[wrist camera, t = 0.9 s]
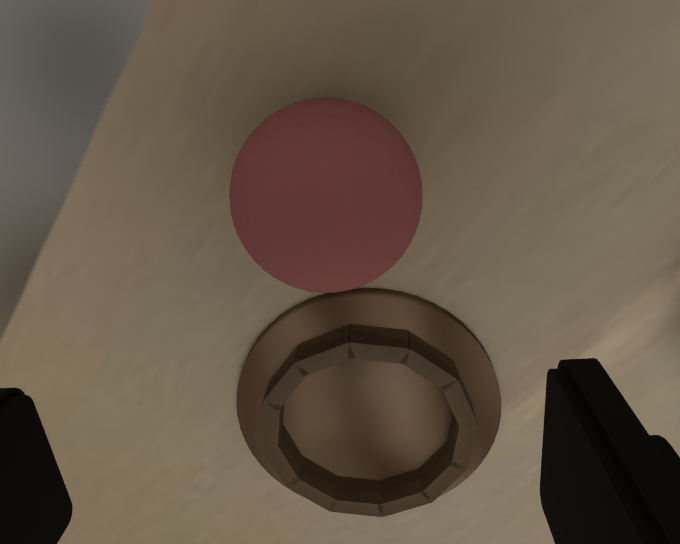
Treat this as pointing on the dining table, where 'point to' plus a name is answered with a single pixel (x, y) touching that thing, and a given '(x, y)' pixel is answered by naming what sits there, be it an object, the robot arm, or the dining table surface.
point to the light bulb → (326, 195)
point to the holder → (368, 401)
